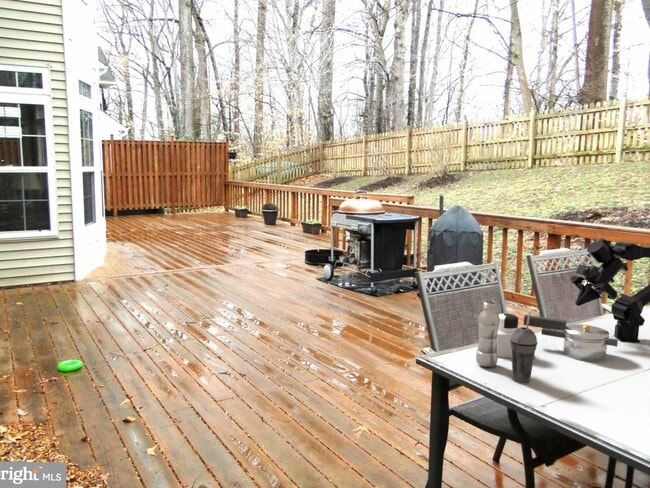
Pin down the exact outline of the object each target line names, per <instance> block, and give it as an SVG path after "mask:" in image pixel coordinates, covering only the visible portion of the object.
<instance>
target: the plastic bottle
mask: <svg viewBox="0 0 650 488" xmlns="http://www.w3.org/2000/svg"><path fill="white" fill-rule="evenodd" d="M482 308H483V310H482V311H481V312H480V313H479V315H478V318H477V322H478V323H477V325H478V335H479V336H478V345H477V350H476V352H475V353H476V354H475V361H476V363H477V365H479V366H482V367H485V368H494V367H495V366H496V365H498V361H499V360H498V359H499V357H498V354H497V334H498V328H499V324H500V318H499V316H498V315H499V314H498V313H497V302H495V301H492V300H484V301H483V306H482Z"/></svg>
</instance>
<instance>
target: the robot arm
mask: <svg viewBox="0 0 650 488" xmlns="http://www.w3.org/2000/svg"><path fill="white" fill-rule="evenodd" d="M586 251H587V253H588V254H589V255H590V256H591V257H592V258H593V259H594V260H595V262H597V263H598V264H600V265H599V266H597V265H593V264H592V265H590V266H587V265H584V264H578V265H577V269H576V270H575V273H576V274H579V275H572V277H571V278H570V279H569V280H570V282H571V283H572V284H573V285H574V286H575V287H576V288H577V289H578V290H579V293H578V296H577V298H576V300H575V303H574V304H575V306H578V307H580V306H582V305H585V304H587V303H590V302H592V301H594V300H595V301H596V300H598V299H602V298H603V297H602V295H603V294H607V299H608V300H610V301H611V300H612V301H614V302H613V303H612V305H611V308H610V311H611V314H612V316H613V320H616V324H615V325H614V334H613V337H615V339H617V340H618V341H620V342H629V343H641V341H640V339H639V334H640V333H639V332H640V327H641V326H644V324H645V321H646V320H645V318H644V317H643V316H642V315H641V314H642V313H643V311H644V310H643V309H644V307H645V306H647V305H648V304H649V303H650V283H649V284H648V285H646V286H645V287H643V288H641V290H639V291H637V292H636V293H634V294H633V295H631V296H630V295H627V294H622V295H620V297H619V298H617V297H618V292H617V290H616V289H615V288H614V287H613V286H612V285H611V284H610V283H614V282H615V281H616V280H615V279H614V278H615V277H616V276H617V274H618V273H619V272H620V271H625V272H627V271H629V267H628V263H627V262H624V261H625V260H626V261H630V262H631V261H637V260H641V259H643V258H645V259H646V258H650V245H648V246H646V245H639V244H638V245H637V244H635V243H628V242H623V241H618V242H616V243H615V244H613V245H610V244H609V243H608V241H607V240H606V239H605V238H602V237H601V238H599V239H598V240H596V241H593V242H592V243H590V244H589V245H587V248H586ZM621 259H622V260H621ZM623 260H624V261H623ZM580 275H582V276H584V277H582V276H580ZM616 298H617V299H616Z"/></svg>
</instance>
